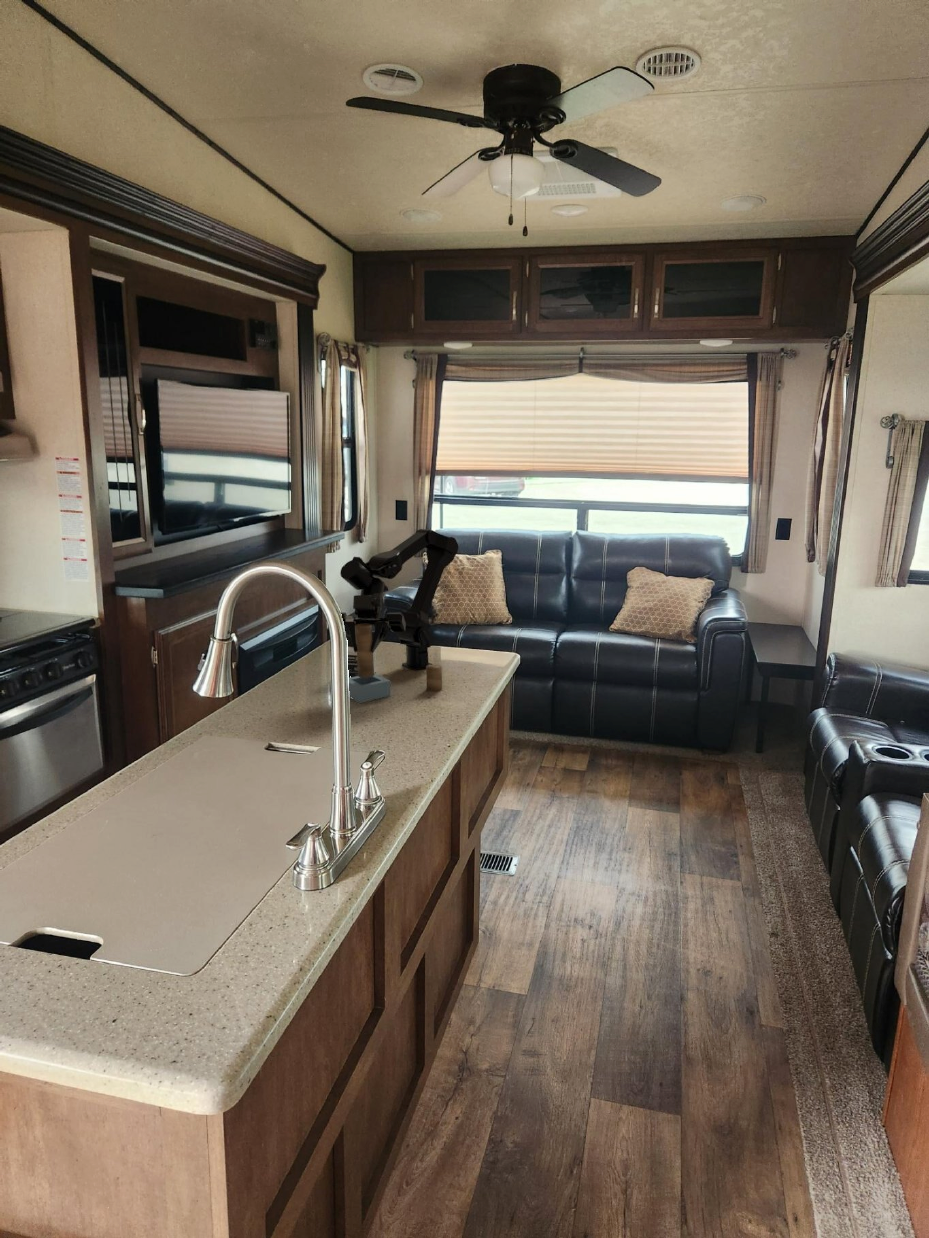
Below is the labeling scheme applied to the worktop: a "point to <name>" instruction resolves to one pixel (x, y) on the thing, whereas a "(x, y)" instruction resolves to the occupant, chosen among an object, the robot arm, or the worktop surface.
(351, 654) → the medicine bottle
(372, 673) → the tall pin
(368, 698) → the socket block
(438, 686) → the short pin
